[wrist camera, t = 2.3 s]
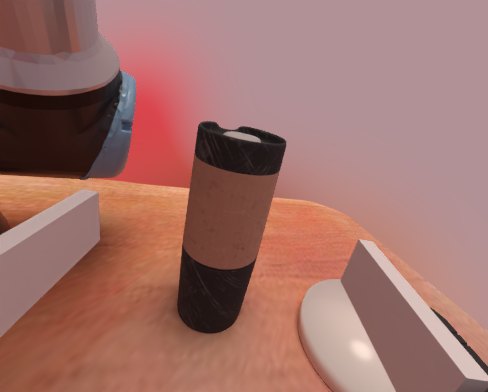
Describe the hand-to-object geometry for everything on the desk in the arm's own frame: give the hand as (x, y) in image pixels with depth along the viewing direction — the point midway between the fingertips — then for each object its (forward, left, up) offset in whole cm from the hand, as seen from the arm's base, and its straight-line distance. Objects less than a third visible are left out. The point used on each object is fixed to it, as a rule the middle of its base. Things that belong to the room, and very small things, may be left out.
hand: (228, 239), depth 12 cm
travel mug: (-8, +6, -16) cm, 19 cm away
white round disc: (+4, +20, -16) cm, 26 cm away
